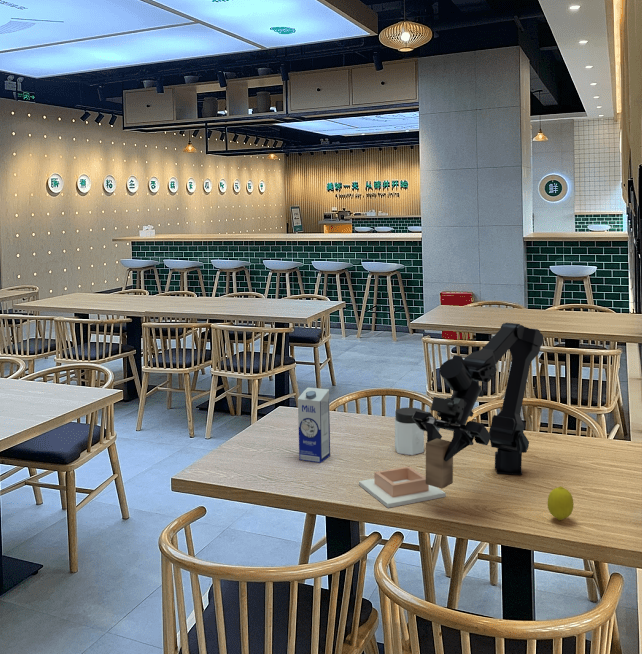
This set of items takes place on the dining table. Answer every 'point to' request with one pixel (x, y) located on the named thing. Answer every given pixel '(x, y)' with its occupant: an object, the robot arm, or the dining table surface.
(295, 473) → the dining table surface
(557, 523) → the dining table surface
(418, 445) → the jar
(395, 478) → the terracotta holder
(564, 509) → the lemon
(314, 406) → the milk carton
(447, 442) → the walnut post
